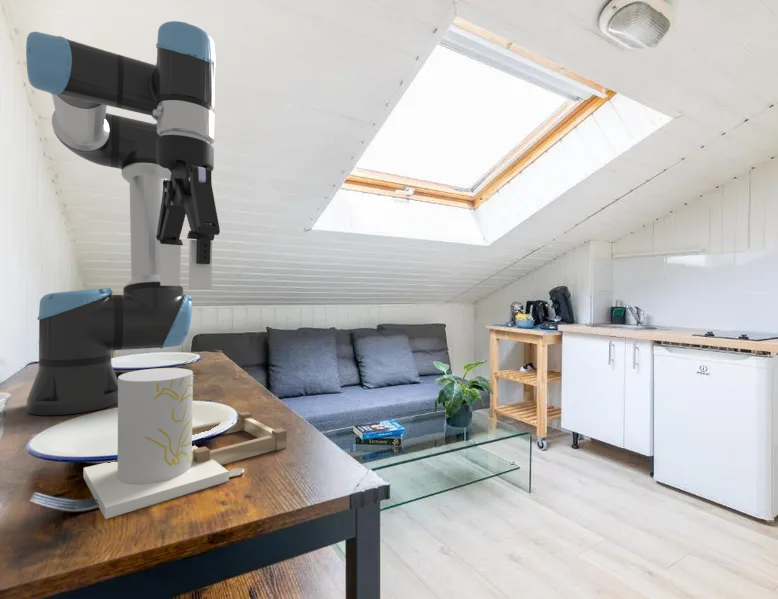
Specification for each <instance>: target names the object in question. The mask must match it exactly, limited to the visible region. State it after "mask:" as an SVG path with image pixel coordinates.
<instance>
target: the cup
mask: <svg viewBox="0 0 778 599" xmlns="http://www.w3.org/2000/svg"><path fill="white" fill-rule="evenodd" d="M193 375H194V371H193V370H191V369H187V368H179V367H161V368H160V367H159V368H157V367H156V368H147V369H140V370H133V371H129V372H125V373H122V374H120V375H119V376H118V378H117V380H118V403H117V460H118V479H119V480H120V481H121V482H124V483H128V484H150V483H157V482H162V481H166V480H169V479H172V478H175V477H177V476H180V475H182V474H183V473H185V472H186V471H188V470H189V469H190V468H191V466H192V443H193V442H192V427H193V402H194V401H193V398H194V396H193V393H194V391H193V388H194V387H193V386H194V379H193V378H194V376H193Z"/></svg>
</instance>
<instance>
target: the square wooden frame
mask: <svg viewBox="0 0 778 599" xmlns="http://www.w3.org/2000/svg"><path fill="white" fill-rule="evenodd" d="M237 418H238V419H237V423H236V425H235V426H234V427H233V428H232V429H231V430H230V431H229V432H227V433H226V434H225V435H227V434H228V435H229V434H231V433H232V434H233V433H236V432H240V431H242V432H243V431H244V432H246V433H248V434H250V435H251V436H253V437H255V438H253V439H252V440H251V439H250V440H247V441H243V442H242V441H241V442H239V443H234V444H230V445H226V446H223V447H219V448H215V449H210V448H208V447H207V446H201V447H198V446H196V445H195V444H194V446H192V457H193V460H194V461H195V462H196V463H197V464H198V463H202V462H205V461H209V460H210V459H213V460H215V461H216V462H217V463H219V464H220V465H221V466H223V465H226V464H230V463H234V462H238V461H241V460H244V459H247V458H252V457H255V456H258V455H262V454H265V453H266V454H267V453H269V452H272V451H280V450H284V449H286V448H287V435H288V434H287V433H288V431H287V430H286V429H284V428H281V427H280V428H276V429H274V428H272V427H270V426H268V425H266V424H263V423H261V422H260V421H258V420H255V419H254V418H253V416H252V412H249V411H244V412H238V417H237ZM221 421H222V420H219V421H214V422H210V423H205V424H200V425H195V426H192V435H195V434H199V433H201V432H205V431H209V430H211V429H212V428H214V427H216V426H218V425H219V424H220V423H221Z"/></svg>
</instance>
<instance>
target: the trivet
mask: <svg viewBox="0 0 778 599" xmlns="http://www.w3.org/2000/svg"><path fill="white" fill-rule="evenodd" d="M110 462H111V461H110ZM82 468H83V472H82V473H83V480H84V481H85V484H86V485H87V487H88V489H89V490H90V493H91V495H92V496H93V500H95V499H97V500H98V504H99V506H98V508H99V510H100V512H101V513H102V515H103V517H104V519H105V520H108V519H110V518H114V517H118V516H120V515H124V514H127V513H129V512H133V511H136V510H140V509H143V508H146V507H150V506H152V505H156V504H159V503H162V502H165V501H168V500H169V501H170V500H172V499H175V498H179V497H182V496H184V495H188V494H191V493H195V492H198V491H201V490H204V489H207V488H210V487H214V486H216V485H221V484H224V483H227V482H229V481H230V471H229V470H228V469H227V468H225V467H224V466H223V465H220V464H219V463H217V462H216V461H215V460H213V459H210V460H209V461H205V462H202V463H198V464H197V463H196V462H195V461H194V460H193V457H192V466H191V468H190V469H189V470H188V471H186V472H185V473H183V474H182V475H180V476H177V477H175V478H172V479H169V480H166V481H162V482H157V483H150V484H128V483H124V482H121V481H120V480H119V479H118V462H111V463H107V462H104V463H98V464H94V465H90V466H85V467H82ZM98 504H97V505H98Z"/></svg>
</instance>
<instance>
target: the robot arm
mask: <svg viewBox="0 0 778 599" xmlns="http://www.w3.org/2000/svg"><path fill="white" fill-rule="evenodd" d="M25 45H26V46H25V52H26V53H25V56H26V70H27V71H26V73H27V79H28V82H29V84H30V85H31V87H32V88H35V89H36V90H39V91H42V92H46V93H49V94H51V96H52V100H53V101H52V102H53V106H54V111H53V113H52V116H51V125H52V129H53V133H54V134H55V136H56V138H57V139H58V140H59V142H60V143H62V145H63V146H64V147H66V148H67V149H68V150H69V151H71V152H72V153H73V154H75V155H77V156H79V157H80V158H82V159H84V160H86V161H88V162H90V163H93V164H96V165H99V166H104V167H108V168H114V169H119V170H121V176H122V178H123V180H125V181H126V182H127V183H128V184H129V222H130V271H131V272H130V274H131V275H130V276H131V280H130V281H128V282H127V283H126V284H125V285H124V286H123V290H122V291H123V294H113V291H112V289H111V287H103V288H101V287H100V288H95V289H94V288H92V289H81V290H79V289H78V290H70V291H62V292H59V291H58V292H51V293H47V294H44V295H43V296H42V297H41V299H39V307H38V308H39V310H38V316H37V320H38V323H39V326H38V371H37V374H36V375H35V376H36V377H34V378H35V379H34V380H33V383H32V386H31V389H30V391H29V393H28V396H27V399H26V412H27V413H29V414H32V415H37V416H38V415H39V416H59V415H60V416H62V415H63V416H64V415H72V414H81V413H82V414H83V413H87V412H88V413H89V412H93V411H96V410H98V411H99V410H101V409H106V408H109V407H112V406H115V405H116V404H117V405H118V378H117V375H116V373H115V370H114V368H113V365H112V351H126V350H129V351H130V350H142V349H144V350H145V349H158V348H159V349H164V348H172V347H174V348H175V347H179V346H181V345H183V344H184V343H185V342H186V340H187V339H188V335H189V332H190V328H191V322H192V315H193V301H192V296H191V295H188V294H184V286H183V285H182V284H181V255H182V254H181V248H182V246H183V244H184V243H183V241H182V239H180V238H181V234H182V230H183V226H184V223H185V220H186V219H185V218H187V222H188V224H189V225H188V226H189V229H190V230H189V231H188V233H187V236H186V238H187V240H188V239H189V244H188V245H189V246H188V247H189V248H188V250H189V251H188V254H189V257H188V290H193V289H194V290H212V282H213V281H212V278H213V277H212V274H213V272H212V270H213V266H212V265H213V260H212V259H213V241H214V239H215V236H218V235H220V232H221V230H220V225H219V224H220V222H219V219H218V212H217V207H216V202H215V196H214V191H213V185H212V172H213V171H214V165H215V164H214V163H215V162H214V160H215V159H214V158H215V156H214V155H215V147H213V144H214V143H215V132H216V130H215V129H216V128H215V127H216V126H215V125H216V115H215V93H216V92H215V90H216V89H215V86H216V85H215V82H216V66H217V61H216V47H215V41H214V40H213V38H212V37H211V36H210V34H208V33H207V32H206V31H205V30H203V29H202V28H200V27H199V26H196V25H193V24H190V23H187V22H183V21H176V20H174V21H173V20H172V21H166V22H164V23H162V24H161V25H159V27H158V31H157V41H156V44H155V47H156V49H157V50H156V52H157V53H156V55H157V56H156V63H155V64H152V63H148V62H146V61H142V60H140V59H139V60H138V59H135V58H132V57H128V56H125V55H122V54H118V53H114V52H112V51H111V52H110V51H107V50H104V49H101V48H98V47H94V46H91V45H88V44H85V43H81V42H78V41H75V40H72V39H71V40H70V39H68V38H66V37H63V36H60V35H57V36H56V35H52V34H48V33H44V32H39V31H31V32H30V33H28V35H27V36H26V43H25ZM107 107H112V108H117V109H121V110H125V111H129V112H133V113H134V112H135V113H139V114H143V115H147V116H151V118H153V119H154V120H155V121H156V123H152V122H147V121H142V120H139V119H135V118H129V117H125V116H121V115H116V114H112V113H109V112H107Z"/></svg>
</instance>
